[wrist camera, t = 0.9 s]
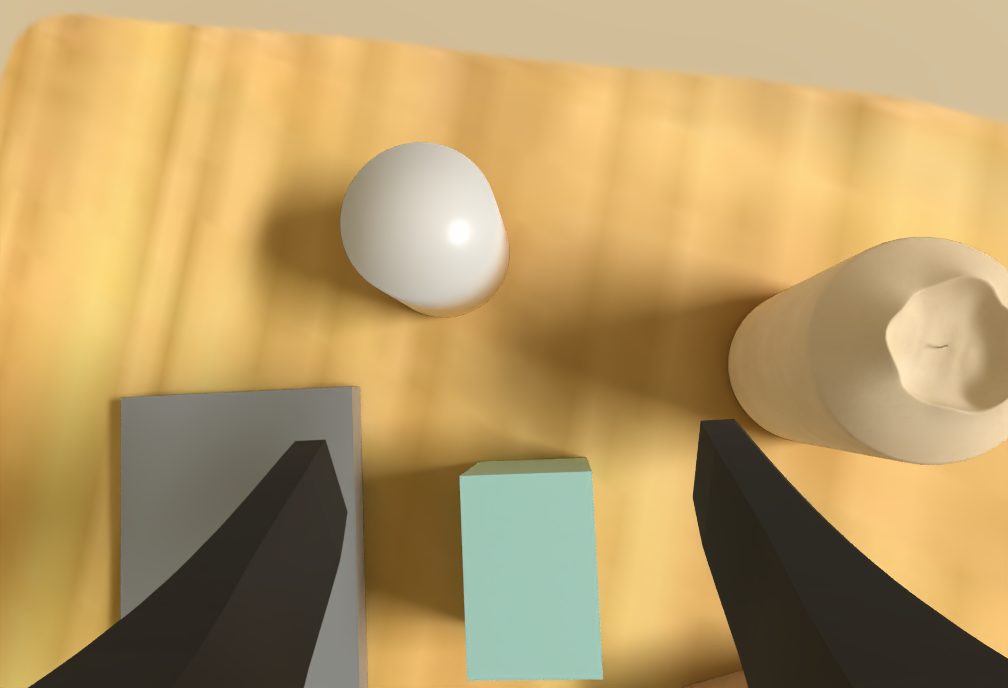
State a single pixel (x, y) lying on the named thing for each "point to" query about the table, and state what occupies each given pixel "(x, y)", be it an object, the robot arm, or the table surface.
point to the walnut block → (723, 681)
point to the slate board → (238, 494)
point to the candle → (884, 355)
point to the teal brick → (530, 571)
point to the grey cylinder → (426, 229)
